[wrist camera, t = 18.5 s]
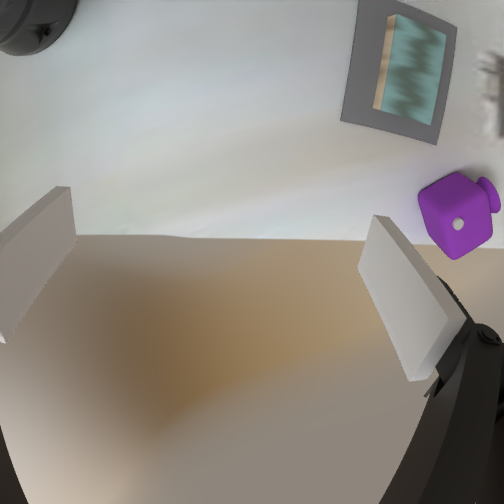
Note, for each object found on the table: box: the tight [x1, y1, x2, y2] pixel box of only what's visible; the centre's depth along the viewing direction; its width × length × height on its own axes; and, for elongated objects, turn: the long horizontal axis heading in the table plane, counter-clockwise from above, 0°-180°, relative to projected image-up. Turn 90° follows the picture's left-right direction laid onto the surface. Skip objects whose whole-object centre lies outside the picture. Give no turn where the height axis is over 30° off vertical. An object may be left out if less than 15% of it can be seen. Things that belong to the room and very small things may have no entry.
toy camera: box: [418, 173, 501, 260], centre depth 42 cm, size 11×14×10 cm
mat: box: [340, 0, 457, 145], centre depth 36 cm, size 16×20×1 cm
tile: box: [373, 14, 446, 125], centre depth 34 cm, size 8×3×14 cm
